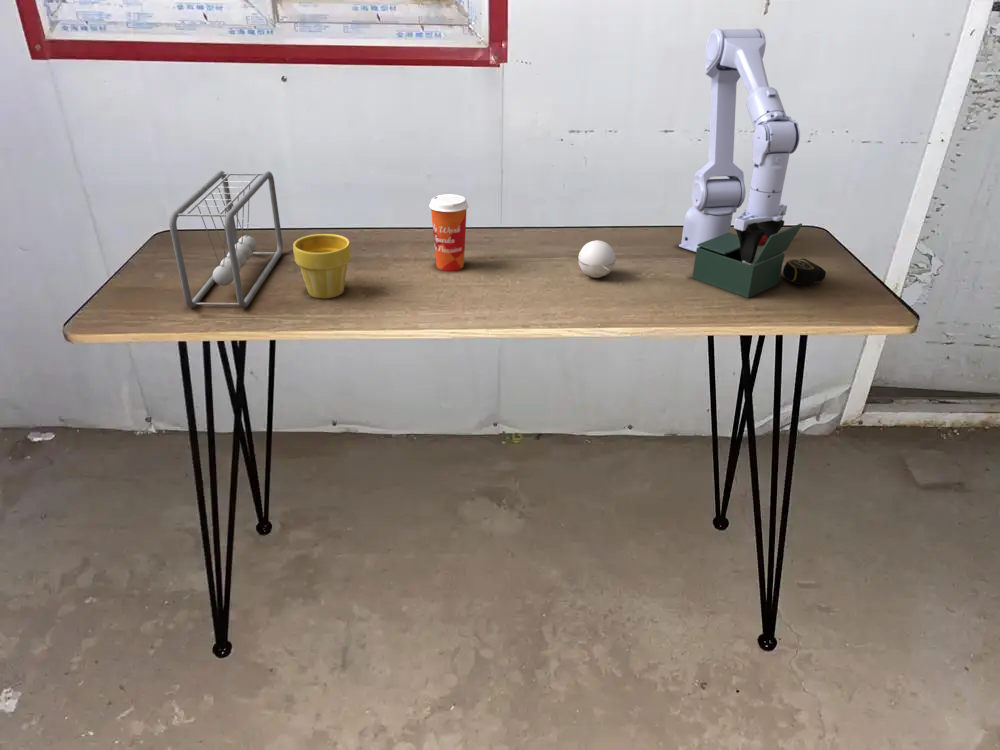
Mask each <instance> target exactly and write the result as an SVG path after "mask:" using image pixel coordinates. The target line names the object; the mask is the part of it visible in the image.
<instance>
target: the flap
mask: <svg viewBox="0 0 1000 750" xmlns="http://www.w3.org/2000/svg"><path fill="white" fill-rule="evenodd" d="M802 226H803V223H797V224H796V225H793V226H790V227H787V228H785V229H783V230H780V231H779V232H778V233H776V234H773V235H771V236H770V237H769V238H768V240H767V242H766V244H765V245H764V247H763V249H762V250H761V252H760V254H759V255H758V257H757V259H756V260H755V262H754V263H755V264H756V263H759V262H761V261H763V260H766V259H768V258H770V257H772V256H775V255H777V254H779V253H785V252H786V251H787V250H788V249H789V247H790V245H791V244H792V242H793V241H794V239H795V237H796V236H797V234H798V232H799V231H800V229H801V228H802Z"/></svg>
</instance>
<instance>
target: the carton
mask: <svg viewBox="0 0 1000 750" xmlns="http://www.w3.org/2000/svg"><path fill="white" fill-rule="evenodd" d="M698 246H700V247H698V248H697V250H696V252H695V258H694V264H693V269H692V277H691V278H692V279H694V280H696V281H699V282H702V283H705V284H708V285H710V286H713V287H716V288H718V289H721V290H724V291H726V292H729V293H732V294H735V295H738V296H740V297H744V298H747V299H749V298H752V297H754V296H756V295H758V294H759V293H761V292H764V291H767V290H768V289H770V288H773V287H775V286H776V285H779V282H780V278H781V273H782V270H783V264H784V259H785V252H782V253H779V254H777V255H775V256H772V257H770V258H768V259H766V260H764V261H763V262H760V263H758V264H756V265H754V266H752V265H749V264H746V263H743V262H742V259H741V249H740V242H739V238H738V234H737V233H732V232H731V231H730V232H729V233H726V234H724V235H721V236H718V237H716V238H713V239H710V240H708V241H705V242H702V243H700V244H698Z"/></svg>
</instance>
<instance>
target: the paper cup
mask: <svg viewBox="0 0 1000 750" xmlns="http://www.w3.org/2000/svg"><path fill="white" fill-rule="evenodd" d="M429 208H430V212H431V213H430V214H431V223H432V231H433V232H432V235H433V247H434V255H435V265H436V268H437V269H439V270H441V271H445V272H455V271H459V270H462V269H463V268H464V264H465V253H466V252H465V251H466V250H465V249H466V233H467V232H466V231H467V230H466V229H467V228H466V227H467V210H468V208H470V207H469V204H468V202H467V200H466V198H465V196H463V195H460V194H450V193H448V194H447V193H446V194H439V195H436V196H434V197H433V198H431V200H430V203H429Z"/></svg>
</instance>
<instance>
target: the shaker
mask: <svg viewBox="0 0 1000 750" xmlns="http://www.w3.org/2000/svg"><path fill="white" fill-rule="evenodd" d="M767 240H768V237H767V236H765V235H763V237H762V238H761V240H760V242H759V245H758V247H757V251H756V254H755V257H754V260H753V262H751V263H750V262H747V261H744V260H742V262H743V263H746V264H749V265H752V266H754V265H756V264H758V263H756V264H755V263H754V262H755V260H756V259H757V257H758V255H759V254H760V252H761V250H762V249H763V247H764V245H765V244H766V242H767ZM763 261H764V260H763ZM763 261H761V262H763ZM759 263H760V262H759Z"/></svg>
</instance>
